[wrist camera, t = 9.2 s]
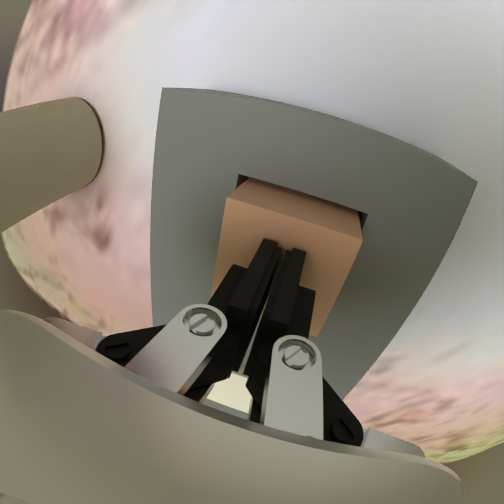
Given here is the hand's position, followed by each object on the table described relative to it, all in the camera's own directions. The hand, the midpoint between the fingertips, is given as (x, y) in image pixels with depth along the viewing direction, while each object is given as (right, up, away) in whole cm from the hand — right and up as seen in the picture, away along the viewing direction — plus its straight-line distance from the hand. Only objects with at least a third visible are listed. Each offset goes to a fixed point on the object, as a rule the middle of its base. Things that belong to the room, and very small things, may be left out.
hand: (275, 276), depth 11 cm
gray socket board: (+1, -2, +9) cm, 9 cm away
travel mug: (-16, +10, +8) cm, 20 cm away
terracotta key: (+1, +2, +4) cm, 5 cm away
